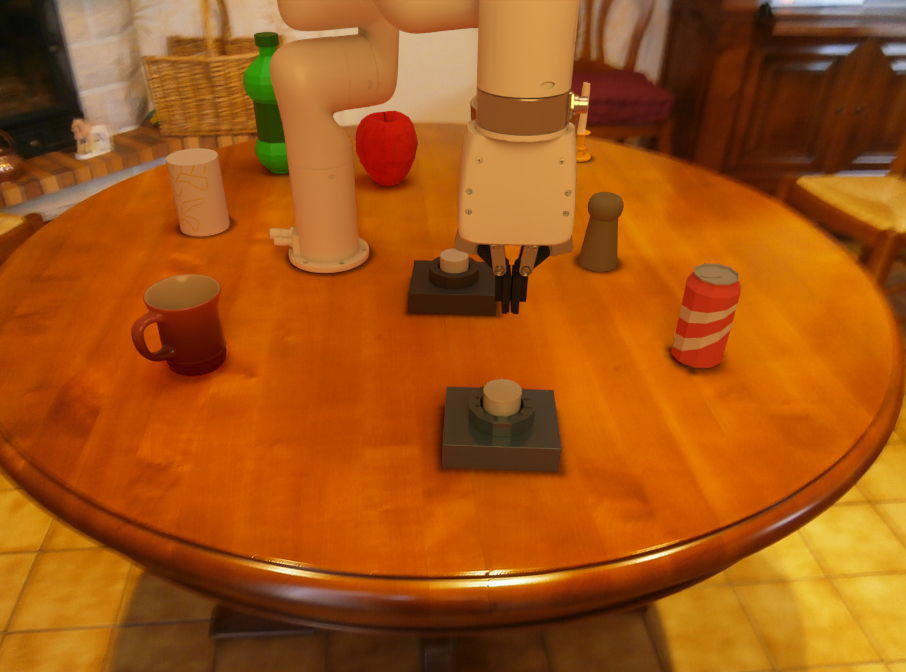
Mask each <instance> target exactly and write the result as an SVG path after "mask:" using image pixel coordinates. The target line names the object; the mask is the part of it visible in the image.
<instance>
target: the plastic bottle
mask: <svg viewBox="0 0 906 672" xmlns="http://www.w3.org/2000/svg"><path fill="white" fill-rule="evenodd" d="M253 38H254V45H255V47H258V53H259V54H258V56H256V58H255V59H253V61H251V63H250V64H249V65H248V66H247V67H246V69H245V70H244V72H243V76H242V83H243V84H242V85H243V88H244V90H245V94H246V95H247V96H248V97H249V98H250V100H251V101H252V104H253V111H254V118H255V127H256V133H257V138H256V141H255V144H254V153H255V156H256V158H257V160H258V162H259V163H260V164H261V165H262V166H263V167H264V168H266V170H268V171H270V173H274V174H276V175H277V174H289V168H288V160H287V152H286V144H285V136H284V130H283V125H282V120H281V115H280V111H279V107H278V104H277V100H276V96H275V93H274V89H273V86H272V81H271V75H270V62H271V58H272V56H273V54H274V53H275V51H276V50H277V49H278V48H277V47H278V46H279V45H280V40H279V33H278V32H274V31H260V32H256V33H254V34H253Z"/></svg>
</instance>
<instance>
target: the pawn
mask: <svg viewBox="0 0 906 672" xmlns="http://www.w3.org/2000/svg"><path fill="white" fill-rule="evenodd" d="M624 207H625V205H624V201H623V198H622V197H621V196H620V194H617V193H615V192H611V191H599V192H595V193H593V194H592V195H591V196H590V198H589V200H588V202H587V212H588V214H589V218H588V222H587V226H586V229H585V233H584V237H583V240H582V244H581V247H580V252H579V255H578V259H577V263H578V265H579V266H580V267H581V268H584V269H586V270H588V271H592V272H598V273H599V272H602V273H604V272H609V271H613V270H614V269H616V268H617V266H618V244H619V243H618V242H619V218H620V217H621V215H622V214H623V211H624Z"/></svg>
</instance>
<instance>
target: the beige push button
mask: <svg viewBox="0 0 906 672" xmlns="http://www.w3.org/2000/svg"><path fill="white" fill-rule="evenodd" d="M483 386H484V388H483V408H484V410H485V411H486V412H487V413H490V414H492V415H495V416H511V415H514V414H516V413H518V412H519V410H520V408H521V397H522V389H521V388H522V387H521V386H520V384H519V383H517V382H516V381H513V380H511V379H507V378H495V379H492V380H489V381H488V382H486V383H485V384H484V385H483Z"/></svg>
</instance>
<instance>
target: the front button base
mask: <svg viewBox="0 0 906 672" xmlns="http://www.w3.org/2000/svg"><path fill="white" fill-rule="evenodd" d="M484 386H485V385H482V386H478V387H476V386H472V387H471V386H446V389H445V404H444V417H443V418H444V419H443V432H442V453H441V454H442V455H441V456H442V460H441V462H442V464H441V465H442V466H441V467H442V468H443V469H465V470H466V469H467V470H493V471H495V470H496V471H517V472H519V471H520V472H545V473H547V472H549V473H559V471H560V465H561V464H560V463H561V457H562V456H561V455H562V442H561V434H560V425H559V420H558V412H557V403H556V395H555V390H554V389H533V388H522V387H521V389H522V397H521V408H520V410H519V412H518V413H516V414H514V415H511V416H495V415H492V414H490V413H487V412H486V411H485V410H484V408H483V388H484Z"/></svg>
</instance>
